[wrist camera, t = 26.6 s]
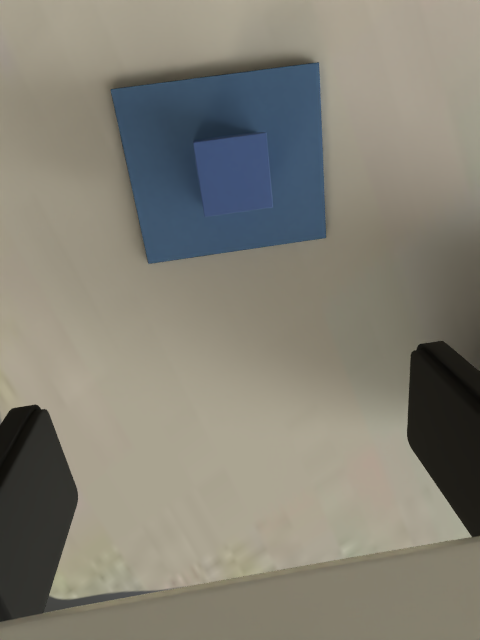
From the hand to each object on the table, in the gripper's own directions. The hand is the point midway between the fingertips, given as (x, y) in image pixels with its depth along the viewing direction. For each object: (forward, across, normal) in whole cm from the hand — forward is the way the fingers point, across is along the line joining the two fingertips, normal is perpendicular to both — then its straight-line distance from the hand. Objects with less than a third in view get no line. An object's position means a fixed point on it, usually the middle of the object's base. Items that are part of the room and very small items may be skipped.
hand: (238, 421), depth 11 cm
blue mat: (+24, -2, -4) cm, 25 cm away
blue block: (+24, -2, -4) cm, 24 cm away
